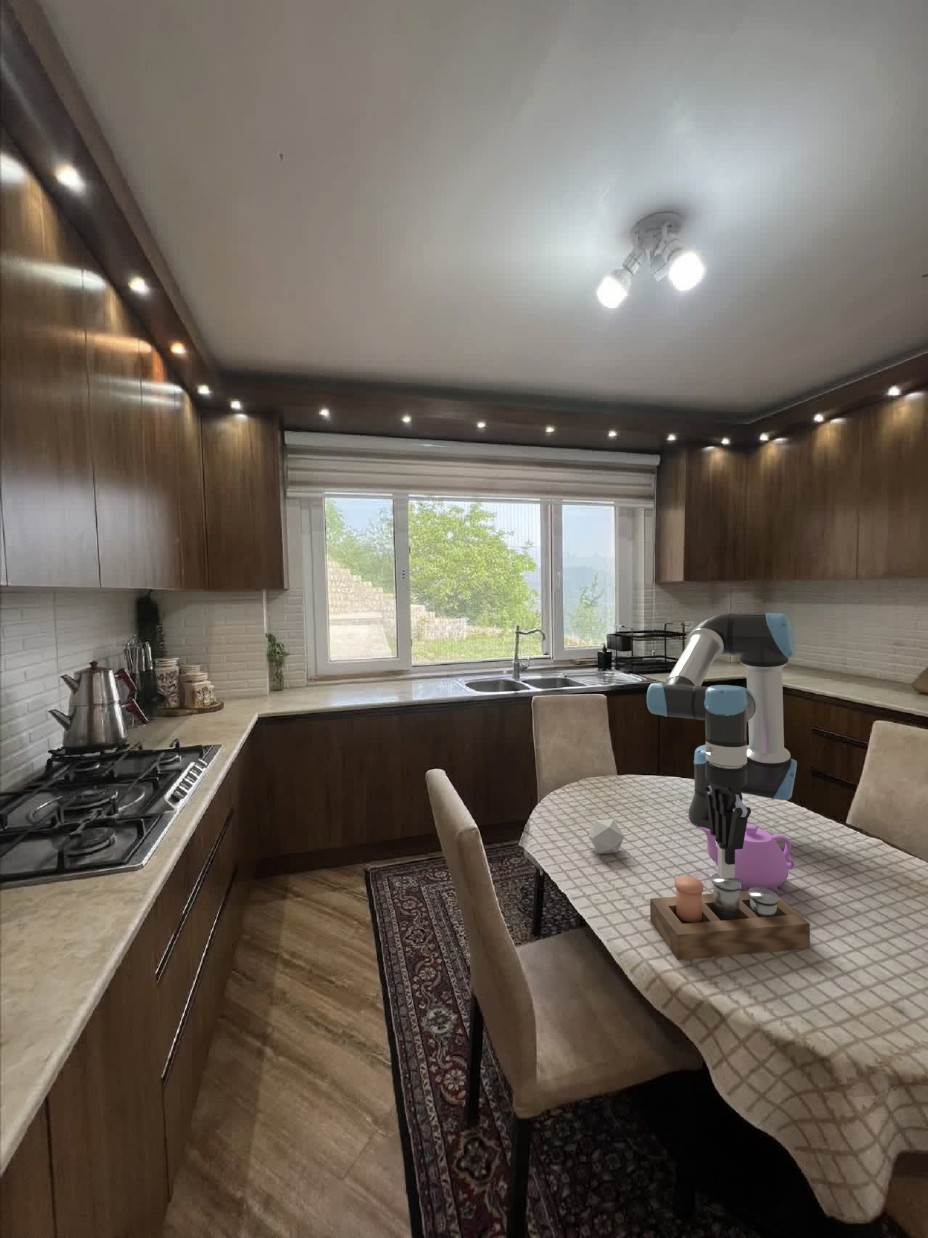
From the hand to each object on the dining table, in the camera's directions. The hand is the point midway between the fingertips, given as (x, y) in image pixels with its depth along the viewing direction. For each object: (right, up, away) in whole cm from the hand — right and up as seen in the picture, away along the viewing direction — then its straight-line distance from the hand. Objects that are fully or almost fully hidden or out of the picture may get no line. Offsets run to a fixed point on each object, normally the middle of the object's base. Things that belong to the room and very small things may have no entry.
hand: (726, 876), depth 107 cm
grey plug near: (+8, -11, +1) cm, 14 cm away
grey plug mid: (0, -8, 0) cm, 8 cm away
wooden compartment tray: (0, -12, +1) cm, 12 cm away
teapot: (+15, -11, +20) cm, 27 cm away
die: (-15, -11, +37) cm, 41 cm away
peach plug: (-8, -8, 0) cm, 11 cm away
